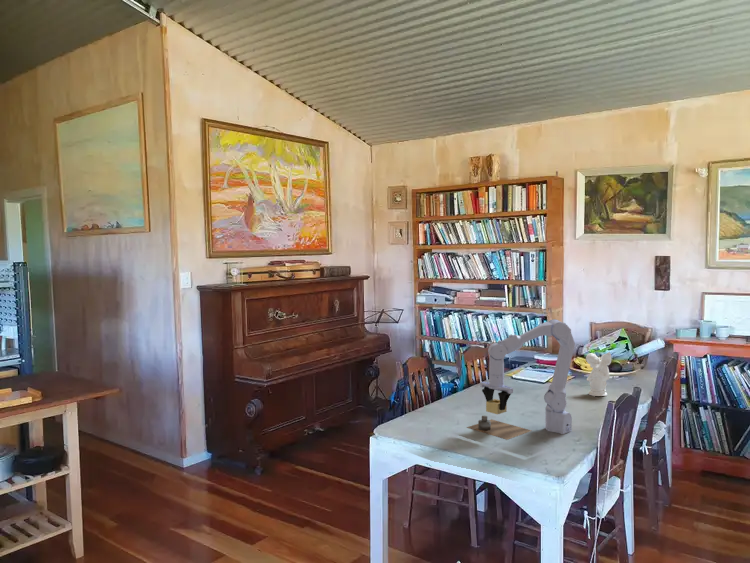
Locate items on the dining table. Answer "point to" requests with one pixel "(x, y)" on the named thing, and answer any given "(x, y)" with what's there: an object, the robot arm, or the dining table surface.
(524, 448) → the dining table surface
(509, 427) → the peg board
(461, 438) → the dining table surface
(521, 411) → the dining table surface
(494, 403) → the brass collar
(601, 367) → the cherub figurine
